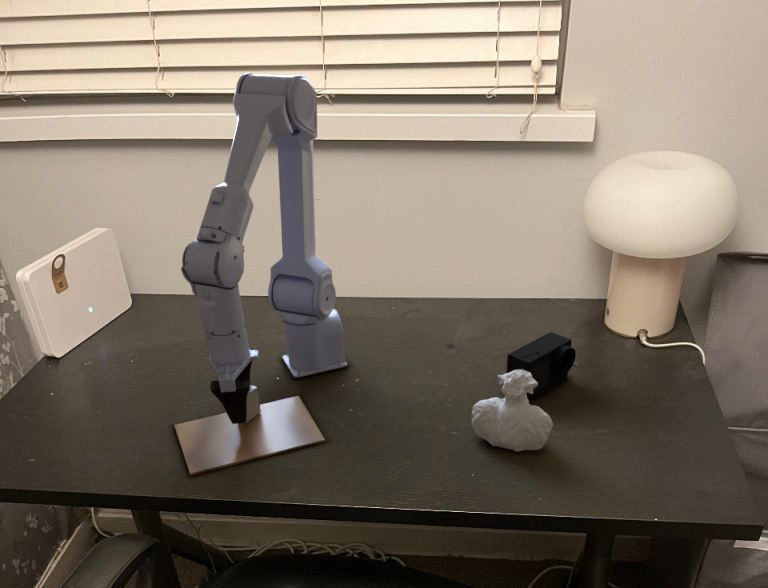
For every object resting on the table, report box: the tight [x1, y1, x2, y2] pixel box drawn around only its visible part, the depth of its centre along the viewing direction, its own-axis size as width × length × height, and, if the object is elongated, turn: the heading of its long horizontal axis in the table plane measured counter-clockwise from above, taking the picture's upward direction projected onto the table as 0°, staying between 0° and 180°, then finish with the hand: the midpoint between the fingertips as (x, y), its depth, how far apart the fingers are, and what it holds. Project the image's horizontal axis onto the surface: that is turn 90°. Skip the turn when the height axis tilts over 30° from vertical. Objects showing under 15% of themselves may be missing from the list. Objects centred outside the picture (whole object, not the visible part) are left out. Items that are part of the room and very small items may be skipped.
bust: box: [470, 369, 554, 453], centre depth 109 cm, size 12×8×11 cm, turn 62°
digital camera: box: [506, 331, 577, 401], centre depth 120 cm, size 10×5×7 cm, turn 131°
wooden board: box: [173, 395, 326, 477], centre depth 116 cm, size 20×14×1 cm
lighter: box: [243, 384, 261, 424], centre depth 115 cm, size 7×2×8 cm, turn 150°
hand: (240, 409), depth 116 cm, fingers closed on lighter, 6 cm apart
